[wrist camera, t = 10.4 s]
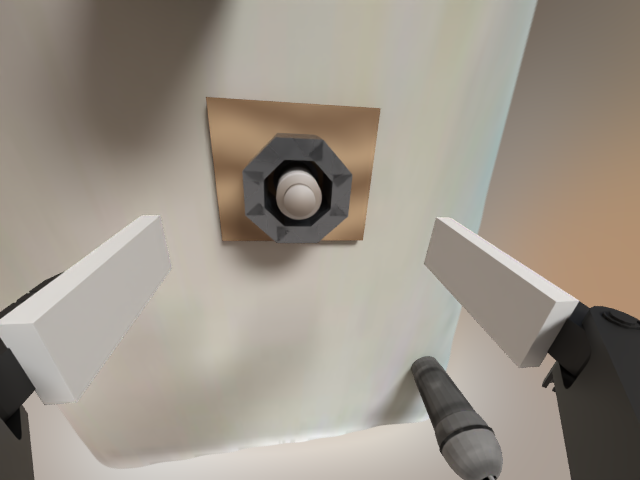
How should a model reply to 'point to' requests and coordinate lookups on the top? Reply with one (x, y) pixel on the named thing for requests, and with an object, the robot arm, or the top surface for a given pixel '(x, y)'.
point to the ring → (264, 203)
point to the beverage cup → (457, 424)
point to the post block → (290, 175)
